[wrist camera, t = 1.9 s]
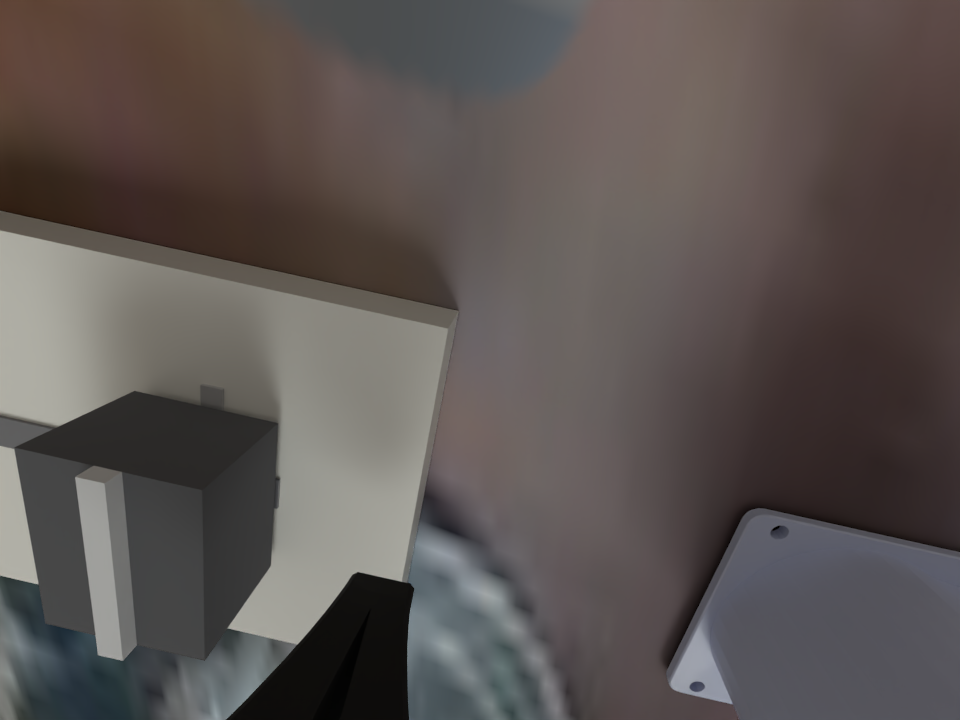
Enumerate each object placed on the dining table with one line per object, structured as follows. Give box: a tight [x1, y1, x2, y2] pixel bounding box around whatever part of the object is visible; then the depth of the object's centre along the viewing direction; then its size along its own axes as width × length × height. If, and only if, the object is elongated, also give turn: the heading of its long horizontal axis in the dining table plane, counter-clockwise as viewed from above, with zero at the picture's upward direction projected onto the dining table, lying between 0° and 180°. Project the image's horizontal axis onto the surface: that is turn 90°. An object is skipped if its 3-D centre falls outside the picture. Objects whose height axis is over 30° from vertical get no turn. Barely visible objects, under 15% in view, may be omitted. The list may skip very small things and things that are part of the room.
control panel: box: [0, 211, 459, 645], centre depth 14 cm, size 20×12×2 cm, turn 78°
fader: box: [14, 391, 278, 661], centre depth 11 cm, size 4×5×3 cm
